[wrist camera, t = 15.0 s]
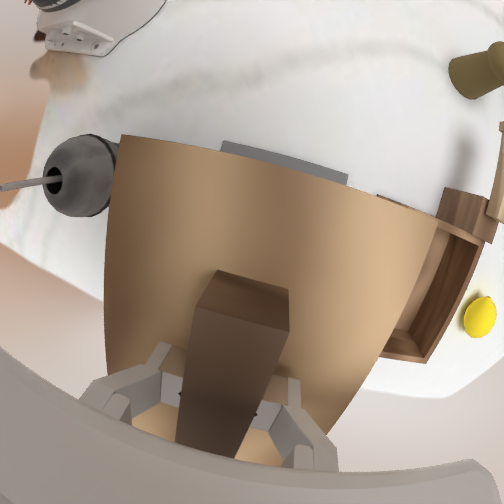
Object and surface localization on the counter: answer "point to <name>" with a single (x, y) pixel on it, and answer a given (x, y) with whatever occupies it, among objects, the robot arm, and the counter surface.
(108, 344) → the lid
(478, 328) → the lemon
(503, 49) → the olive chess pawn
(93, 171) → the beverage cup
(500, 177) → the light wooden bar
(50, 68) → the counter surface
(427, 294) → the brown wooden box
